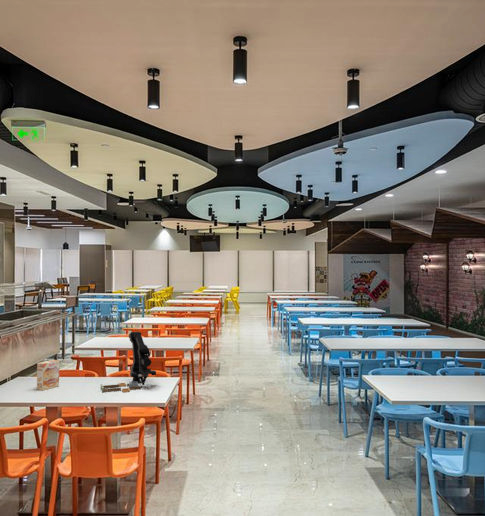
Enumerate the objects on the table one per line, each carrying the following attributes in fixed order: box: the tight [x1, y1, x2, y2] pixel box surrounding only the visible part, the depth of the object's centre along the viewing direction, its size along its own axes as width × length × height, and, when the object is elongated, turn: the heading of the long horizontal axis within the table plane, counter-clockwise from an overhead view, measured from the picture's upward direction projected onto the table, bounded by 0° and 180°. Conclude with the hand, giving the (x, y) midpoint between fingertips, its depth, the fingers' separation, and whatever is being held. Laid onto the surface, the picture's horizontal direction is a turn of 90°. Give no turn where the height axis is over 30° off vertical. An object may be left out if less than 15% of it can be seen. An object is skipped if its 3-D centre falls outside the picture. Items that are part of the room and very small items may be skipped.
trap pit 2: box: [121, 387, 131, 393], centre depth 349 cm, size 5×5×2 cm
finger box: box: [100, 383, 141, 394], centre depth 356 cm, size 13×27×3 cm, turn 112°
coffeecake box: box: [36, 359, 60, 391], centre depth 358 cm, size 15×7×20 cm, turn 153°
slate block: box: [128, 381, 139, 388], centre depth 360 cm, size 6×6×4 cm
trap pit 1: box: [118, 382, 127, 388], centre depth 365 cm, size 5×5×2 cm
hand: (143, 385), depth 362 cm, fingers closed
